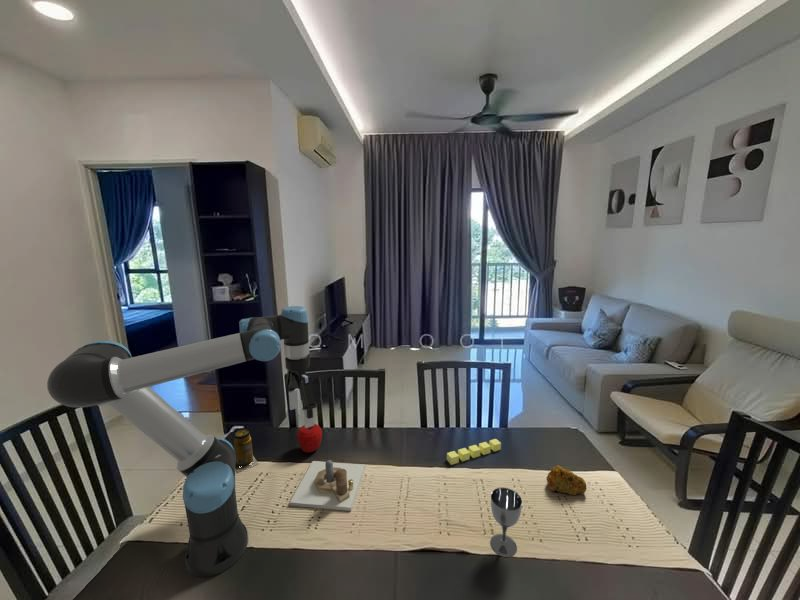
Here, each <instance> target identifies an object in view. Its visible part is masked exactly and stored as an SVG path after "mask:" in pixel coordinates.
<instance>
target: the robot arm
mask: <svg viewBox="0 0 800 600" xmlns="http://www.w3.org/2000/svg"><path fill="white" fill-rule="evenodd" d="M238 325H239V332H238V333H234V334H229V335H225V336H220V337H216V338H212V339H207V340H203V341H198V342H195V343H194V342H193V343H190V344H185V345H181V346H176V347H171V348H168V349H162V350H160V351H159V350H158V351H155V352H151V353H146V354H142V355H137V356H132V354H131V351H130V350H129V349H128V348H127V347H126V346H125V345H124V344H122V343H120V342H116V341H113V340H96V341H92V342H89V343H86V344H85V345H83V346H81V347H79V348H77V349H76V350H75V351H74V352H72V353H71V354H70V355H69V356H68V357H66V358H65V359H64V360H62V361H61V362H60V363H58V364H57V365H56V366H55V367H54V368H53V369H52V371H51V372H50V374H49V376H48V378H47V384H46V385H47V386H46V387H47V392H48V394H49V396H50V397H51V398H52V399H53V400H54V401H55V402H57V403H58V404H60V405H63V406H65V407H69V408H88V407H93V406H98V407H100V406H102V407H103V406H109V407H111V408H112V409H113V410H115V411H116V412H117V413H118V414H119V415H121V416H122V417H123V418H124V419H126V420H127V421H128V422H129V423H130V424H132V425H133V426H134V427H136V429H138V430H139V431H140V432H141V433H143V434H144V435H145V436H147V437H148V439H150V440H152V441H153V442H154V444H156V445H157V446H159V447H160V448H161V449H163V450H164V451H165V452H166V453H167V454H169V455H170V456H171V457H172V458H173V459H175V460H176V461H177V465H176V469H177V471H179V472H180V473H181V474H183V476H185V477H186V479H185V480H184V482H183V487H182V501H183V504H184V508H185V513H186V514H185V515H186V520H187V525H188V526H187V527H188V533H189V538H188V542H187V546H186V549H185V555H184V558H185V559H184V560H185V566H186V569H187V571H188V572H189V574H191V575H193V576H195V577H199V578H205V577H207V578H208V577H211V576H215V575H219V574H220V573H222V572H224V571H226V570H228V569H229V568H231V567H232V566H233V565H234V564H235V563H237V562H238V561H239V560H240V559H241V557H242V556H243V554H244V553H245V551H246V549H247V546H248V544H249V535H248V534H249V533H248V530H247V527H246V525H245V523H243V522H242V520H241V518H240V516H239V512H238V504H237V503H238V502H237V495H236V468H235V461H236V456H235V450H234V445H233V444H232V443H231V442H230V441H228V440H227V439H225V438H222V437H221V438H220V437H219V438H216V436H214V435H213V434H203V433H202V432H201V431H200V430H199V429H198V428H196V426H194V425H193V424H192V423H191V422H189V421H188V419H186V418H185V417H184V416H183V415H182V414H180V412H178V411H177V410H176V409H175V408H174V407H173V406H171V405H170V404H169V403H168V401H166V400H165V399H164V398H162V396H160V395H159V394H158V393H157V392H156V391H155V390H154V389H152V388H151V387H154V386H157V385H161V384H164V383H168V382H169V383H170V382H173V381H176V380H180V379H184V378H188V377H191V376H195V375H199V374H202V373H206V372H210V371H214V370H219V369H222V368H225V367H226V368H227V367H230V366H233V365H237V364H241V363H244V362H248V361H252V360H253V361H254V360H256V361H260V362H269V361H271V360H274V359H275V358H276V357H277V356H278V354H279V353H280V351H281V341H282V340H283V351H284V353H283V354H284V356H285V358H284V362H285V363H284V365H285V369H286V370H287V371H286V372H287V373H286V381H285V387H286V388H287V391H288V402H289V403H288V404H289V410H290V411H292V410H296V409H298V408H299V399H298V398H299V397H298V390H299V392H300V395H301V399H302V401H303V402H302V403H303V406H304V407H303V408H302V411H303V421H304V422H303V423H304V425H305V428H308V427H311V426H314V424H315V421H314V419H315V416H314V409H315V408H317V404H316V399H315V395H314V390H313V387H312V385H313V384H312V380H311V375H310V374H309V375H308V373H307V372H306V370H307V369H309V368H310V366H311V356H310V347H311V343H310V340H309V339H310V337H309V319H308V310H307V309H306V308H305V307H304V306H301V305H291V306H286V307H283V308H282V309H281V313H280V314H277V315H269V316H260V317H259V316H257V317H248V318H242V319H240V320H239V322H238ZM297 389H298V390H297Z"/></svg>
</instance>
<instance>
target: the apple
mask: <svg viewBox="0 0 800 600" xmlns="http://www.w3.org/2000/svg"><path fill="white" fill-rule="evenodd" d="M296 435H297V436H296V439H297V443H298V446H299V448H300V449H301V451H303V452H304V453H313V452H314V451H317V450H318V448H319V447H320V445H321V442H322V440H323V439H322V437H323V430H322V428H321V426H320V425H318V424H316V423H314V426H311V427H308V428H305V424H303V425H302V426H300V428H299V429H298V430H297V434H296Z"/></svg>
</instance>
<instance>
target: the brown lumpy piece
mask: <svg viewBox="0 0 800 600" xmlns="http://www.w3.org/2000/svg"><path fill="white" fill-rule="evenodd" d="M546 481H547V484H548V487H549V489H550V490H551V492H552V491H553V492H555V491H557V492H558V493H562V494H565V493H567V494H568V495H570V496H576V495H578V494H579V495H580V494H585V493H586V491H587V489H588V488H587V483H586V481H585V479H584V478H583V477H581V476H578V475H577V474H575V473H574V472H572V471H571V470H568V469H566V468H564V467H562V466H560V465H559V464H558V465H555V466H553V467H552V468H551V470H550V472H548V474H547V476H546Z"/></svg>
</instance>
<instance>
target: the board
mask: <svg viewBox="0 0 800 600" xmlns="http://www.w3.org/2000/svg"><path fill="white" fill-rule="evenodd" d="M333 467H335V468H341V469H345V470H346V471H347V490H348V491H349V493H350V497H349V498H348V499H346V500H344V501H342V502H339V501H338V499H337V498H336V497H335V496H334V494H327V493H319V491H318V490H317V489H316V487H315V486H314V480H315V478H316V476H317V474H318V472H320V471H322V470H324V469H326V479H325V480H324V482H326V483H332V482H334V481H336V478H335V477H334V475H333ZM365 470H366V464H363V463H362V464H360V463H349V462H333V460H331V459H328V460H326V461H318V460H312V461H311V463H310V465H309V467H308V469H307V471H306V472H305V474H304V476H303V478H302V479H301V482H300V483H299V485H298V487H297V488H296V490H295V492H294V493H293V495H292V498H291V499H290V501H289V506H291V507H303V508H313V509H314V508H315V509H325V510H327V509H328V510H337V511H338V510H339V511H348V512H352V509H353V507H354V503H355V500H356V498H357V494H358V491H359V489H360V488H359V487H360V485H361V482H362V479H363V475H364V473H365ZM350 479H352V480H353V490H349V485H348V481H349V480H350Z"/></svg>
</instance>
